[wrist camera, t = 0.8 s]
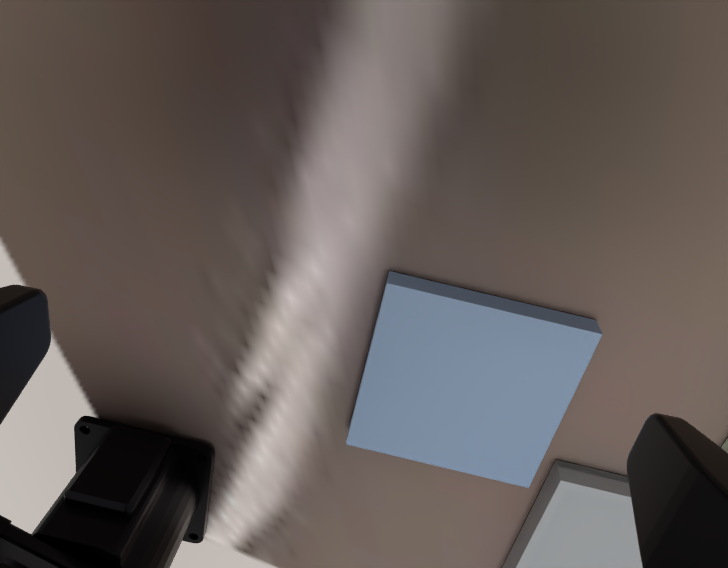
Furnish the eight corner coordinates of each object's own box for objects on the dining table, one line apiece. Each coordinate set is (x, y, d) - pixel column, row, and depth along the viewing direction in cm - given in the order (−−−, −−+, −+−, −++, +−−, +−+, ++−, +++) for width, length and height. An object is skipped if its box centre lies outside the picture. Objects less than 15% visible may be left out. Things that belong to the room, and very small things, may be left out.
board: (525, 470, 26) (528, 488, 25) (348, 428, 26) (345, 444, 25) (596, 320, 22) (602, 334, 21) (389, 271, 22) (387, 283, 21)
